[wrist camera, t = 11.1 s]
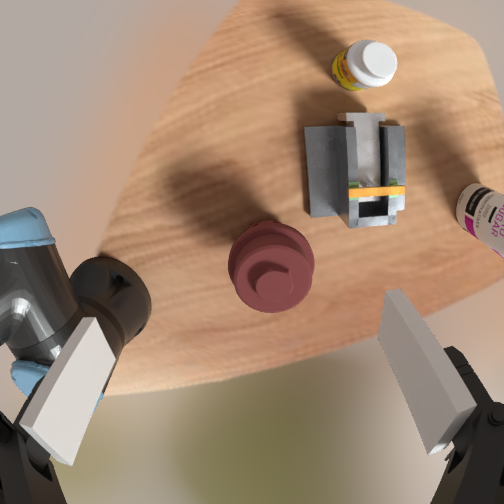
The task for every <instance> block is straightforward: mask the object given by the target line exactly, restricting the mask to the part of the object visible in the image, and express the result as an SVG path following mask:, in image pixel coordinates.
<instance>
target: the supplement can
mask: <svg viewBox="0 0 504 504" xmlns="http://www.w3.org/2000/svg"><path fill="white" fill-rule="evenodd" d="M456 217H457V220H458V223H459V225H460V226H461V227H462V228H463V229H464V230H466V231H467V232H469V233H470V234H472V235H473V236H474V237H476V238H477V239H479V240H480V241H481V242H483V243H484V244H486V245H487V246H488V247H490V248H491V249H492V250H494V251H495V252H496V253H498V254H499V255H500V256H502V257H503V258H504V195H503V194H501V193H499V192H497V191H495V190H492V189H490V188H488V187H486V186H483V185H481V184H479V183H473V184H471V185H469V186H467V187H466V188H465V189H464V190H463V191H462V193H461V195H460V197H459V199H458V202H457V207H456Z"/></svg>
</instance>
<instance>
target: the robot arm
mask: <svg viewBox="0 0 504 504" xmlns="http://www.w3.org/2000/svg"><path fill="white" fill-rule="evenodd" d="M150 314H151V298H150V295H149V292H148V290H147V288H146V286H145V284H144V283H143V281H142V280H141V279H140V277H139V276H138V275H137V274H136V273H135V272H134V271H133V270H132V269H130V268H129V267H128V266H126V265H124V264H123V263H121V262H119V261H117V260H114V259H111V258H106V257H94V258H90V259H87V260H86V261H84V262H82V263H81V264H80V265H79V266H78V267H77V268H76V269H75V271H74V272H73V273H72V275H71V277H70V279H69V277H68V275H67V272H66V270H65V268H64V265H63V263H62V261H61V258H60V256H59V254H58V251H57V248H56V245H55V238H53V237H52V235H51V233H50V231H49V228H48V226H47V223H46V221H45V218H44V216H43V214H42V213H41V212H40V211H39V210H38V209H36V208H33V207H28V208H24V209H20V210H17V211H14V212H11V213H8V214H5V215H2V216H0V346H1V345H3V344H4V343H6V344H7V346H8V347H9V348H10V350H11V352H12V353H13V355H14V356H15V358H16V361H14V362H13V363H12V368H11V377H12V379H13V381H14V383H15V384H16V386H17V387H18V388H19V389H20V390H21V391H22V392H23V393H24V394H25V395H26V396H27V397H28V400H26V402H25V403H24V405H23V407H22V409H21V410H20V412H19V414H18V416H17V418H16V420H15V422H14V423H13V424H12V423H11V422H10V421H9V420H8V419H7V418H6V416H5V415H4V414H3V413H2V412H1V411H0V504H67V503H66V500H65V497H64V495H63V492H62V490H61V487H60V485H59V481H58V478H57V476H56V473H55V470H54V466H53V464H52V462H51V461H50V460H49V458H50V455H52V456H53V457H54V458H55V459H56V460H57V461H59V462H61V463H64V464H67V465H70V466H72V465H73V462H74V460H75V457H76V454H77V451H78V449H79V446H80V443H81V441H82V438H83V436H84V433H85V430H86V428H87V425H88V423H89V420H90V418H91V416H92V414H93V413H94V411H95V409H96V407H97V405H98V403H99V401H100V400H101V399H102V398H103V395H104V392H105V390H106V387H107V385H108V382H109V380H110V377H111V375H112V373H113V370H114V368H115V365H116V363H117V361H118V358H119V356H120V354H121V351H122V349H123V347H124V346H125V345H126V344H127V343H129V342H130V341H131V340H132V339H133V338H134V337H135V336H137V335H138V334H139V333H140V332H141V331H142V330H143V329H144V327H145V326H146V324H147V321H148V319H149V317H150ZM378 340H379V342H380V344H381V346H382V348H383V350H384V353H385V355H386V357H387V359H388V361H389V363H390V365H391V368H392V370H393V372H394V374H395V376H396V379H397V381H398V383H399V385H400V388H401V390H402V392H403V395H404V397H405V399H406V401H407V404H408V406H409V409H410V411H411V413H412V416H413V418H414V421H415V423H416V426H417V428H418V431H419V433H420V436H421V438H422V441H423V443H424V446H425V449H426V451H427V454H428V455H430V454H432V453H435V452H438V451H440V450H443V449H445V448H446V447H447V446H448V445H449V443H450V442H451V441H452V442H453V444H454V446H455V447H454V448H453V449H452V451H451V452H450V453H449V454H448V455H447V457H446V458H445V461H447V460H448V459H449V461H448V464H447V466H446V469H445V472H444V474H443V476H442V479H441V481H440V484H439V486H438V488H437V491H436V493H435V495H434V497H433V499H432V501H431V503H430V504H504V404H502V403H500V402H494V401H493V400H492V399H491V397H490V396H489V394H488V392H487V391H486V389H485V388H484V386H483V384H482V383H481V381H480V379H479V378H478V376H477V375H476V373H475V372H474V370H473V369H472V367H471V366H470V365H469V363H468V361H467V360H466V358H465V357H464V355H463V354H462V353H461V352H460V351H458V350H457V349H456V348H455V347H453V346H450V347H447V348H444V349H443V348H442V346H441V345H440V343H439V342H438V340H437V339H436V338H435V336H434V335H433V333H432V332H431V330H430V329H429V327H428V326H427V324H426V323H425V321H424V320H423V318H422V317H421V316H420V314H419V313H418V311H417V310H416V309H415V307H414V306H413V304H412V303H411V302H410V300H409V299H408V298H407V296H406V295H405V293H404V292H403V291H402V289H395V290H388V291H385V298H384V305H383V312H382V318H381V324H380V330H379V336H378Z"/></svg>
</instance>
